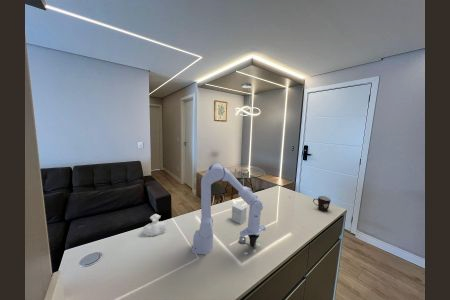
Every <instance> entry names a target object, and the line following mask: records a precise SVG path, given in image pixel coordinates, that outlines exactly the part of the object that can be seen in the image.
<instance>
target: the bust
mask: <svg viewBox="0 0 450 300" xmlns="http://www.w3.org/2000/svg"><path fill="white" fill-rule="evenodd" d="M161 216H162V215H159V214H157V213H154V214H153V215H151V216H150V217H149V219H150V220H151V221H152V222H151V223H148V224H146V225H144V227H143V232H144V235H145V236H148V237H153V236H160V235H161V234H163V233H165V232H166V230H167V225H168V224H167V223H166V222H163V221H159V219H161Z"/></svg>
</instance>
